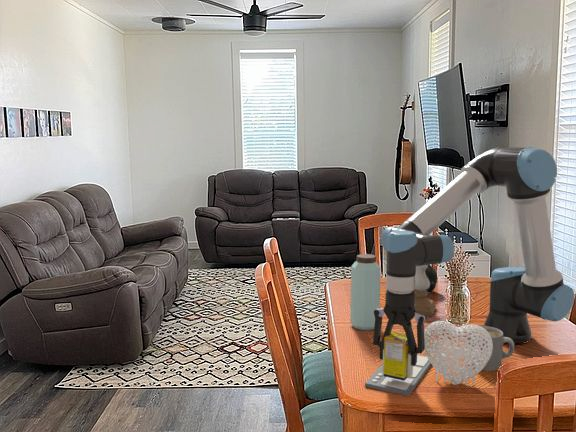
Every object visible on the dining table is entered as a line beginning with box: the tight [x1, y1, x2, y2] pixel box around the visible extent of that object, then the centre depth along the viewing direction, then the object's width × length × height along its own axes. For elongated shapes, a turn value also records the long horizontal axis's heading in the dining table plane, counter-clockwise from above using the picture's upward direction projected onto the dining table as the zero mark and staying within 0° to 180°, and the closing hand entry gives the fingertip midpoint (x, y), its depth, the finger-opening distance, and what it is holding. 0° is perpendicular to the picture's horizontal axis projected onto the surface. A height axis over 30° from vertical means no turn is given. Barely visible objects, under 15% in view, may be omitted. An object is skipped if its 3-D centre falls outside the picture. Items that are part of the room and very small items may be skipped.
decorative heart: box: [424, 320, 493, 386], centre depth 157 cm, size 18×11×17 cm, turn 69°
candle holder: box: [413, 265, 437, 317], centre depth 219 cm, size 11×11×24 cm
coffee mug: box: [466, 325, 515, 372], centre depth 171 cm, size 13×10×10 cm
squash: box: [425, 264, 438, 294], centre depth 245 cm, size 14×15×15 cm
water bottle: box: [349, 253, 382, 331], centre depth 202 cm, size 10×10×25 cm
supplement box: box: [384, 330, 410, 381], centre depth 156 cm, size 6×6×11 cm
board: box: [364, 354, 432, 397], centre depth 165 cm, size 12×26×1 cm, turn 152°
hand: (397, 373), depth 157 cm, fingers closed on supplement box, 6 cm apart
